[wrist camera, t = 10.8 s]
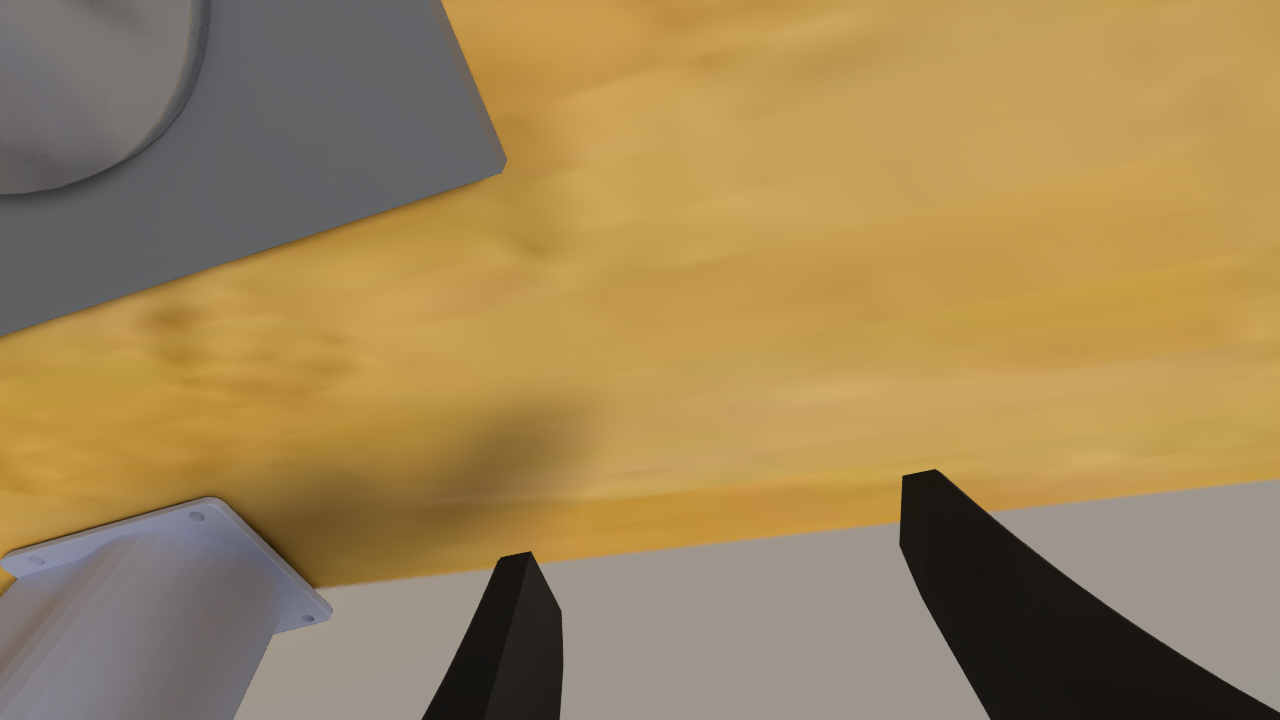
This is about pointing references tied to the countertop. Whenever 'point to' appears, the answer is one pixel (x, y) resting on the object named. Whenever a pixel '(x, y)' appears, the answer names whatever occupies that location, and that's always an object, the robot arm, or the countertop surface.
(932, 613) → the robot arm
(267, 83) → the dial panel
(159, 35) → the dial
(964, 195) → the countertop surface
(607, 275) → the countertop surface
